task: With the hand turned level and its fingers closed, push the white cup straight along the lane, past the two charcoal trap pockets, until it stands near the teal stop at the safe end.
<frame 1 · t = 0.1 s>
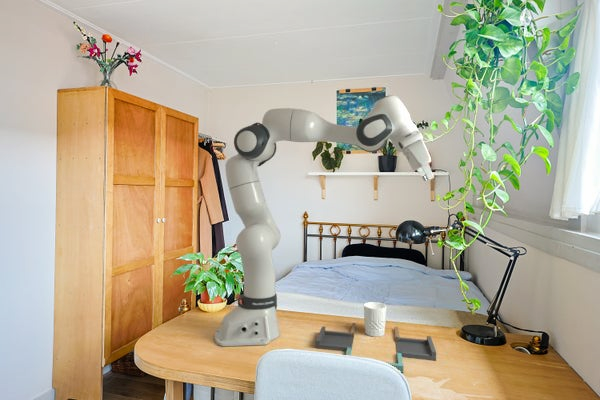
hand: (429, 179, 115), 54 cm above the table, tool tilted 30°, fingers open, 8 cm apart
white cup: (374, 333, 129), on the table
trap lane: (374, 345, 118), on the table
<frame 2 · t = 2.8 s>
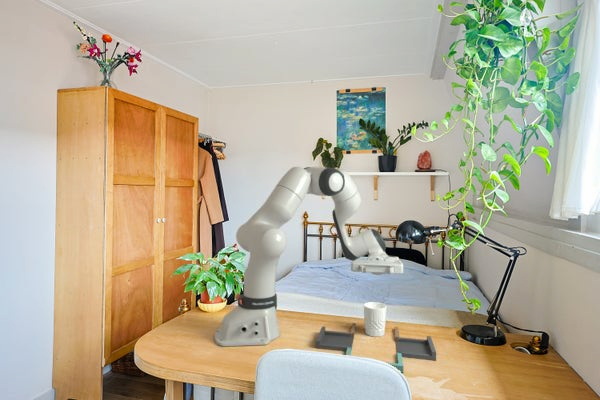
hand: (376, 271, 137), 20 cm above the table, tool horizontal, fingers open, 8 cm apart
nothing on the table moved.
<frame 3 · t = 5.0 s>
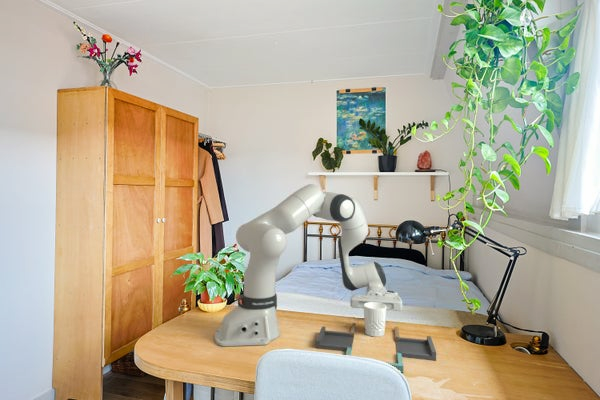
hand: (375, 308, 137), 6 cm above the table, tool horizontal, fingers closed
nothing on the table moved.
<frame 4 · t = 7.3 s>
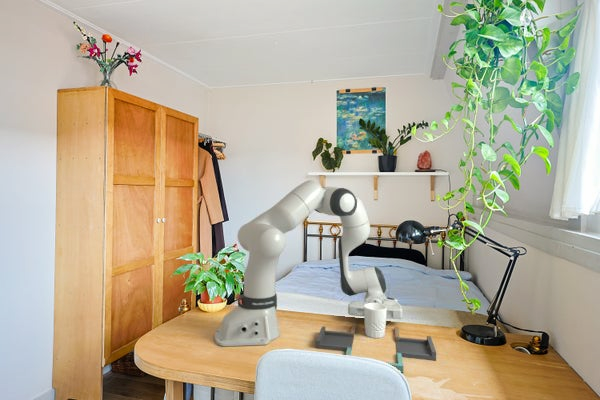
hand: (374, 316, 131), 5 cm above the table, tool horizontal, fingers closed, pressing on white cup
white cup: (375, 335, 127), on the table, touching gripper
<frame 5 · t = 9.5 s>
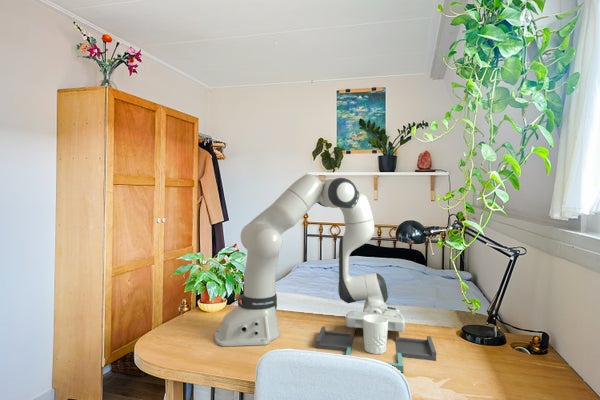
hand: (374, 329, 119), 5 cm above the table, tool horizontal, fingers closed, pressing on white cup
white cup: (375, 350, 115), on the table, touching gripper
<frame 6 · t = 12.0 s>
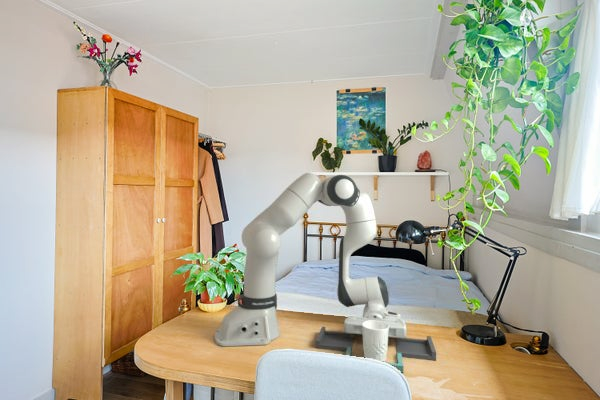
hand: (374, 336, 113), 5 cm above the table, tool horizontal, fingers closed
white cup: (375, 358, 109), on the table
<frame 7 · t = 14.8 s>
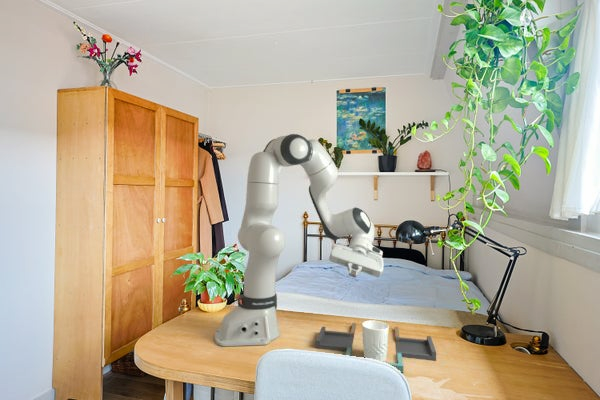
hand: (352, 275, 130), 20 cm above the table, tool tilted 60°, fingers closed
nothing on the table moved.
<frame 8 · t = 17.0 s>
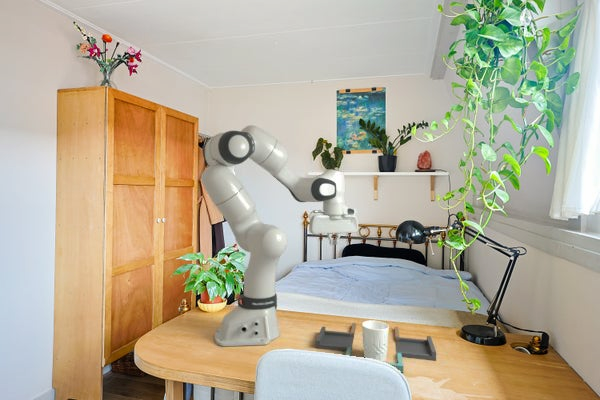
hand: (333, 244, 145), 29 cm above the table, tool pointing down, fingers closed
nothing on the table moved.
at the end: white cup inside the target area on the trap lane (0.1 cm from its centre), point 0.0 cm above the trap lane's base; white cup tilted 0° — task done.
